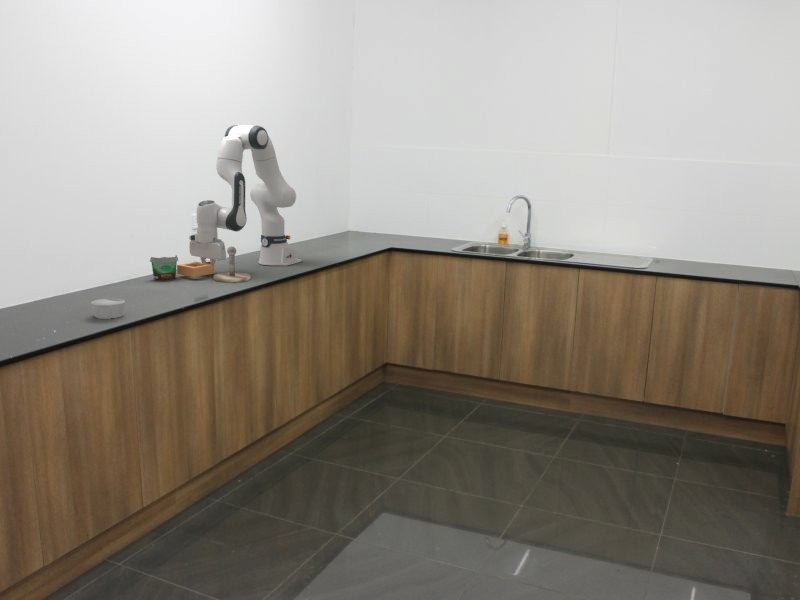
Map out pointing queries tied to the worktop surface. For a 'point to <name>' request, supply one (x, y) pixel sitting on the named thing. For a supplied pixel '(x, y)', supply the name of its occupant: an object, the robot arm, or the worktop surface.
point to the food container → (164, 268)
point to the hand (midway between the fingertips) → (208, 267)
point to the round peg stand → (232, 270)
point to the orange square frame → (195, 269)
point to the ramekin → (108, 308)
